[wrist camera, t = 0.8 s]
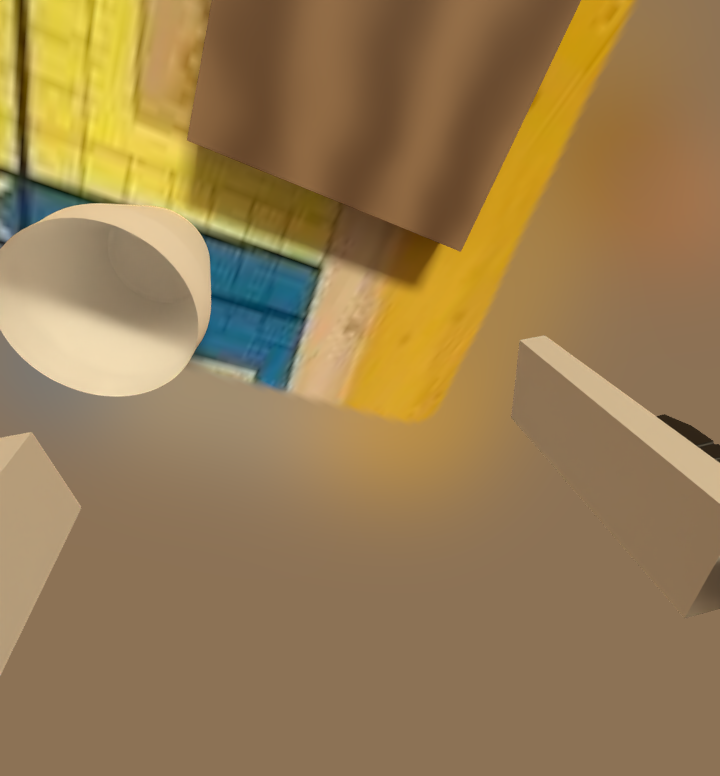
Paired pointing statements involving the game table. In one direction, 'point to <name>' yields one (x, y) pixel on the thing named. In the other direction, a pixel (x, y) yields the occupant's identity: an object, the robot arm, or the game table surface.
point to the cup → (106, 296)
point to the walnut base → (377, 98)
